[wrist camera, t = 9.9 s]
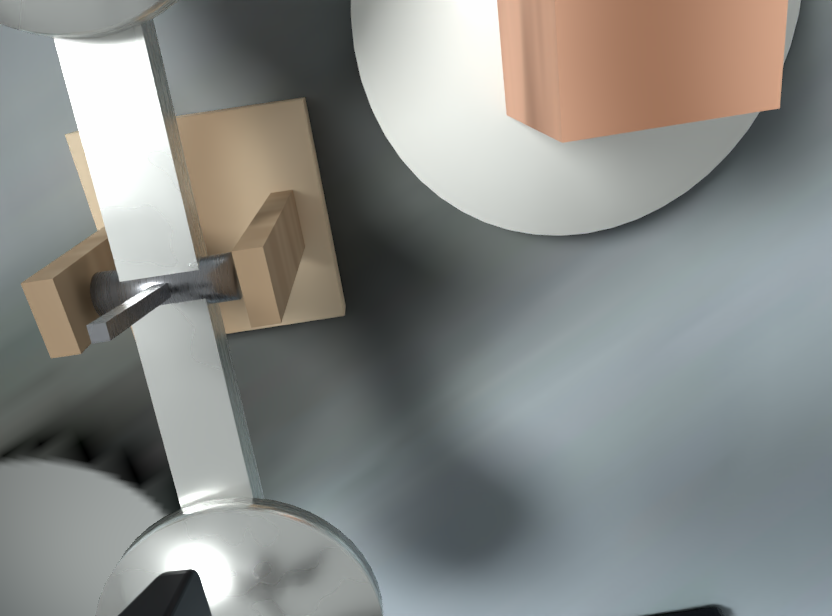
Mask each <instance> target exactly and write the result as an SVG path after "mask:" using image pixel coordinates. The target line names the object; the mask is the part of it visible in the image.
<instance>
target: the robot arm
mask: <svg viewBox="0 0 832 616" xmlns="http://www.w3.org/2000/svg"><path fill="white" fill-rule="evenodd" d="M118 616H212V614H211V611H210V607H209V604H208V601H207V597H206V594H205V591H204V587H203V584H202V581H201V578H200V575H199V574H198V572H197V571H196V570H194V569H183V570H175V571H167V572H164V573H162V574H160V575H159V576H158V577H156V578H155V579H154V580H153V581H152V582H151V583H150V584H149V585H148V586H147V587H146V588H145V589H144V590H143V591H142V592H141V593H140V594H139V595H138V596H137V597H136V598H135V599H134V600H133V601H132V602H131V603H130V604H129V605H128V606H127V607H126V608H125V609H124V610H123V611H122V612H121V613H120V614H119V615H118ZM663 616H725V615H724V613H723V612H722V611H721V610H720V609H718V608H707V609H700V610H694V611H688V612H682V613H675V614H669V615H663Z"/></svg>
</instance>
